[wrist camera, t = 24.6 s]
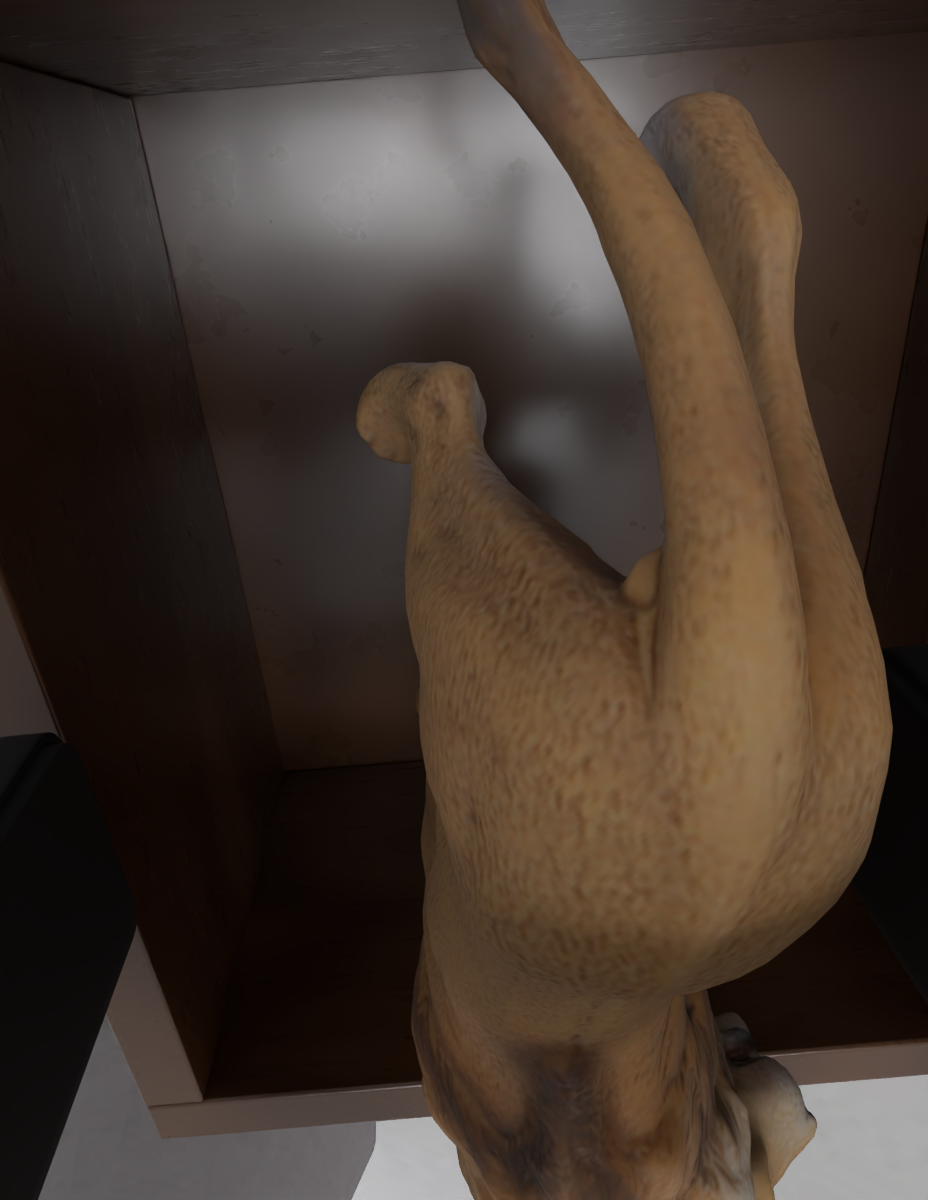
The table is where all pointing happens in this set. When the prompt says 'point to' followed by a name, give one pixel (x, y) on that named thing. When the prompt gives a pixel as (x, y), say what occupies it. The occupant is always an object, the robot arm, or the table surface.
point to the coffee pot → (191, 1150)
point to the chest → (381, 469)
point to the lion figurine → (633, 691)
